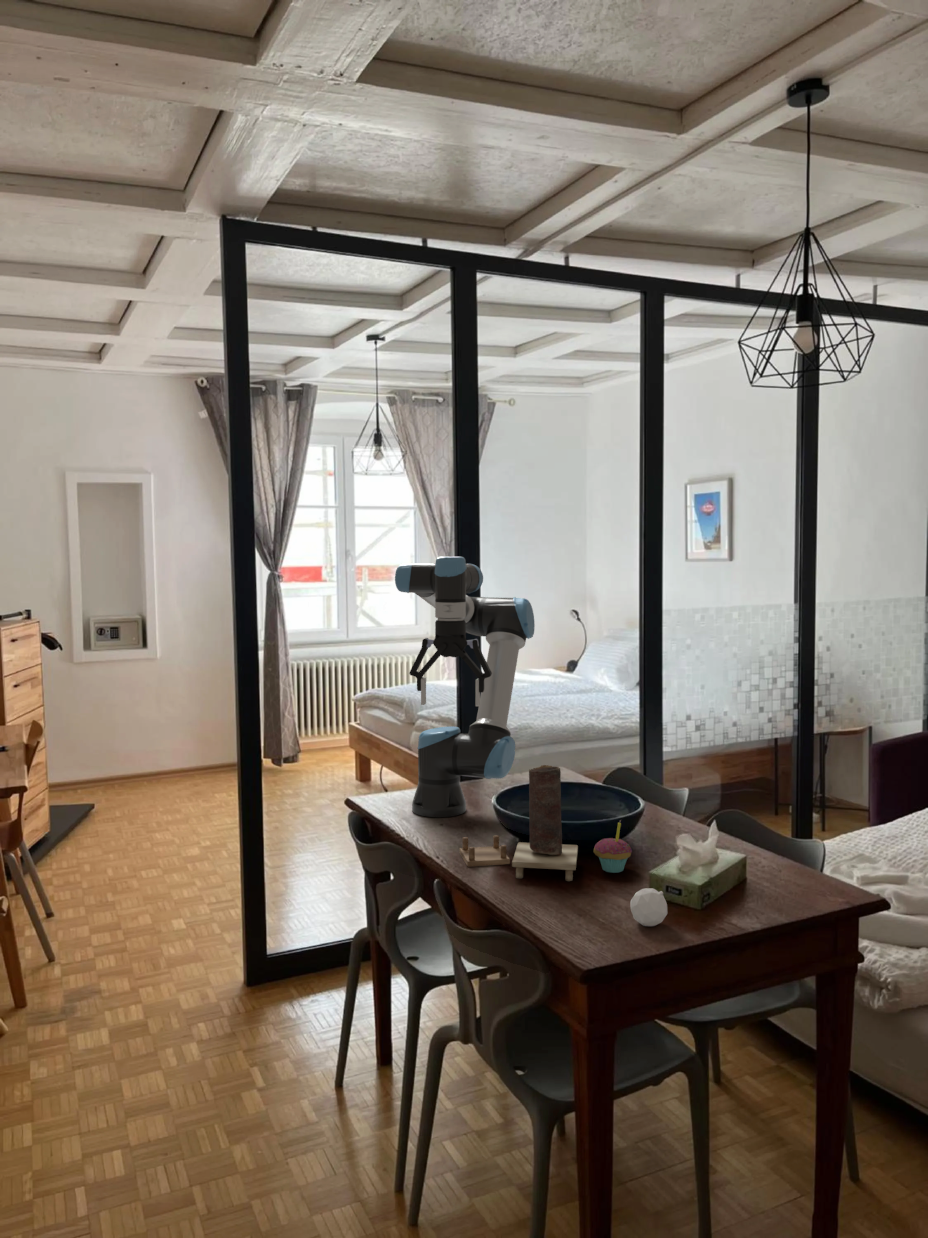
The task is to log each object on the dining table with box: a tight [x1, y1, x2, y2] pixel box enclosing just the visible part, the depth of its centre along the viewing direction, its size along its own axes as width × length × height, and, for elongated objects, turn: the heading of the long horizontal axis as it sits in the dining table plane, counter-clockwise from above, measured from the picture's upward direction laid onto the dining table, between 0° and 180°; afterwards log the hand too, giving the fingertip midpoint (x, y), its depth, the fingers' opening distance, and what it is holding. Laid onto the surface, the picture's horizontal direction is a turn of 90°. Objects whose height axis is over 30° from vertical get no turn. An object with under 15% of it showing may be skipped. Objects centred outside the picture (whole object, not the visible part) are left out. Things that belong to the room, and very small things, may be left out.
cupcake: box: [593, 819, 633, 874], centre depth 216 cm, size 9×8×12 cm
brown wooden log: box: [528, 764, 563, 855], centre depth 215 cm, size 8×7×20 cm
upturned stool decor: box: [459, 834, 511, 868], centre depth 224 cm, size 10×10×4 cm
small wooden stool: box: [511, 841, 579, 882], centre depth 216 cm, size 14×14×4 cm
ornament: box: [629, 887, 668, 927], centre depth 184 cm, size 7×7×8 cm
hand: (450, 705), depth 234 cm, fingers open, 13 cm apart
